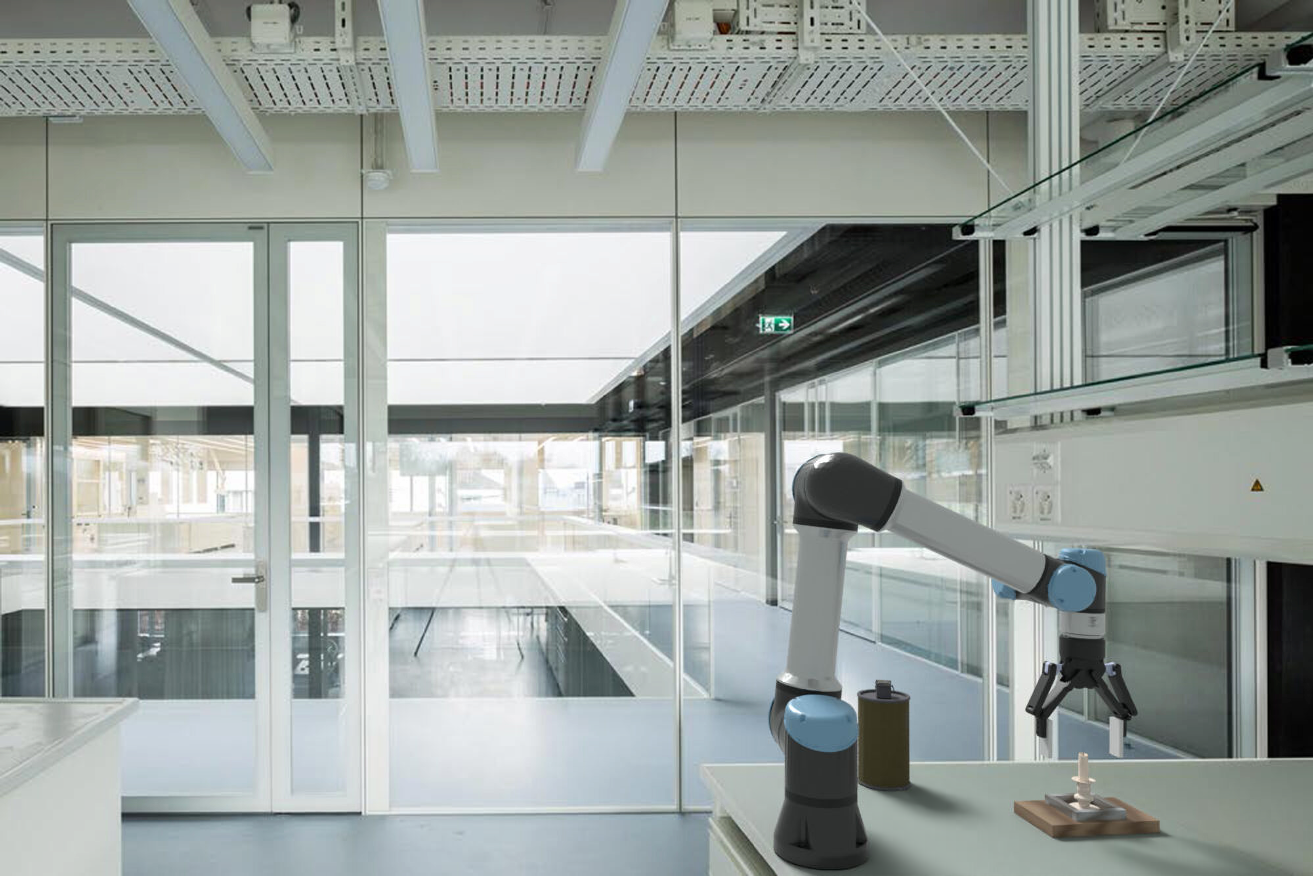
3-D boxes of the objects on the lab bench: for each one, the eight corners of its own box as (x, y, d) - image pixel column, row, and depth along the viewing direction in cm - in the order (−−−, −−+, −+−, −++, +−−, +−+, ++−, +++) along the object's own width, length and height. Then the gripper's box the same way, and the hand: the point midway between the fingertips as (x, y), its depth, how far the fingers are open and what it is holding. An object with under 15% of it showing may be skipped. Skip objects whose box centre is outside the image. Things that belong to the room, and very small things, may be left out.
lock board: (1052, 837, 152) (1052, 816, 152) (1014, 812, 164) (1013, 792, 164) (1159, 832, 155) (1159, 811, 155) (1114, 808, 167) (1114, 788, 167)
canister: (912, 793, 174) (912, 688, 175) (857, 789, 176) (857, 685, 177) (908, 776, 185) (908, 677, 186) (856, 772, 187) (856, 674, 188)
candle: (1104, 816, 157) (1103, 755, 157) (1072, 814, 158) (1071, 754, 158) (1095, 806, 162) (1094, 747, 162) (1064, 804, 163) (1063, 745, 163)
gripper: (1029, 637, 156) (1027, 762, 155) (1159, 639, 160) (1159, 761, 158) (1006, 631, 163) (1004, 750, 162) (1131, 632, 167) (1131, 749, 166)
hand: (1081, 756), depth 160 cm, fingers open, 13 cm apart
